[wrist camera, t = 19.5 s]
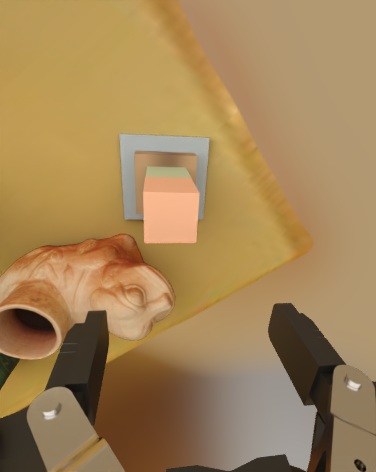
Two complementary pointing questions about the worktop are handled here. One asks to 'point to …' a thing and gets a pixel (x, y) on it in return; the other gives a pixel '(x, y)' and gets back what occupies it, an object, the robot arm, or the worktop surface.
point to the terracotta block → (170, 210)
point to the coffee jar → (6, 367)
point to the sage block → (167, 172)
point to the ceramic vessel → (79, 294)
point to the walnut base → (159, 160)
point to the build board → (162, 144)
